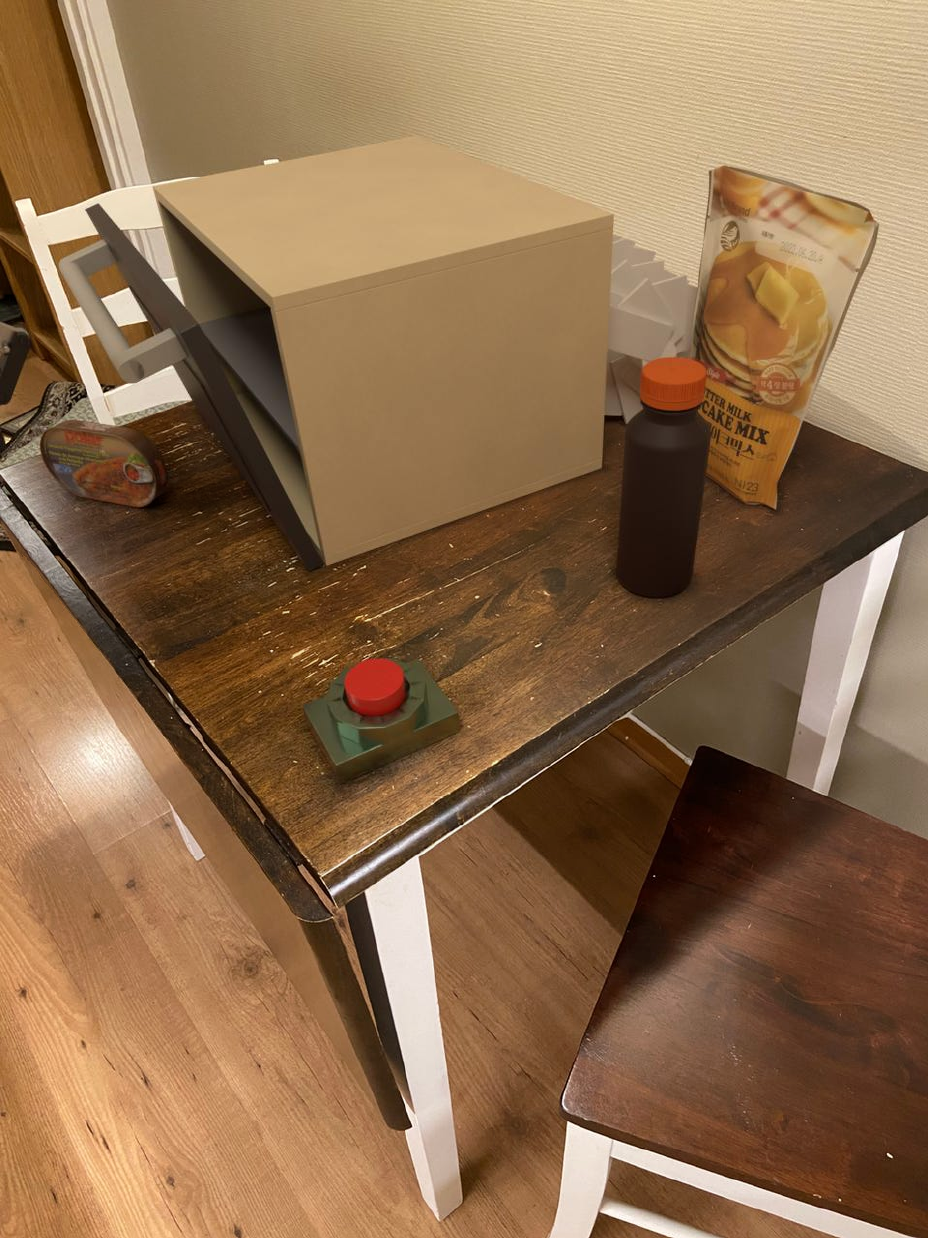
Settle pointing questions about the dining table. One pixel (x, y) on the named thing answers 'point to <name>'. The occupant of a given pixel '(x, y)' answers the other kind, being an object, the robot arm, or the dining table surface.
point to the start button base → (380, 724)
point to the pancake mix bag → (769, 316)
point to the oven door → (179, 364)
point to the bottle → (663, 479)
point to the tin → (104, 462)
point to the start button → (375, 687)
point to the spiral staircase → (643, 322)
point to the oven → (400, 330)
